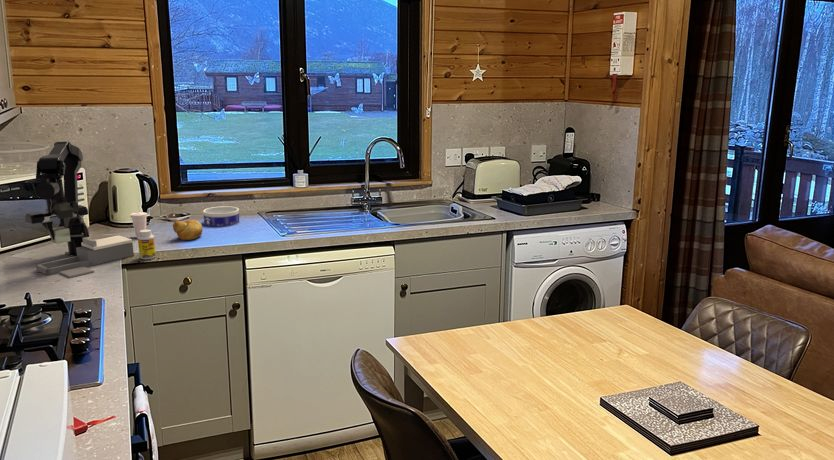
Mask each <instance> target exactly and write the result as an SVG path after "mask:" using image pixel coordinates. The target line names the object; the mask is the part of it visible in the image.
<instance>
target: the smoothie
mask: <svg viewBox="0 0 834 460" xmlns="http://www.w3.org/2000/svg"><path fill="white" fill-rule="evenodd" d="M137 207H138V212H133V213H131V214H129V215H130V218H131V221H132V225H133V229H134V233H135V234H134V235H135V237H136V238H137V239H138V237H139V236H140V231H141V230H147V216H148V213H147V212H144V211H143V212H142V211H141V206H140V202H138V203H137Z"/></svg>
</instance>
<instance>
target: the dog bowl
mask: <svg viewBox="0 0 834 460" xmlns="http://www.w3.org/2000/svg"><path fill="white" fill-rule="evenodd" d="M202 213H203V223H204V225H205V226H208V227H229V226H233V225H237V224H238V223H240V209H239V207H235V206H229V205H228V206H223V205H221V206H214V207H207V208H205V209H203V212H202Z"/></svg>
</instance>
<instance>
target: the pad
mask: <svg viewBox="0 0 834 460" xmlns="http://www.w3.org/2000/svg"><path fill="white" fill-rule="evenodd" d="M93 273H95V270H93V269H90V268H89V267H87V266H86V267H84V266H83V267H78V268H74V269H69V270H65V271H60V273H59V274H61V275H62V276H65V277H67V278H69V279H73V278H77V277H80V276H85V275H89V274H93Z"/></svg>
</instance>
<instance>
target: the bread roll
mask: <svg viewBox="0 0 834 460" xmlns="http://www.w3.org/2000/svg"><path fill="white" fill-rule="evenodd" d="M172 230H173V231H174V233H175V234H176V235H177V238H178V239H180V240H183V241H189V240H194V239H196V238H198V237H200V236H202V234H203V225H202V223H200V222H199V221H198V220H196V219H188V220H184V221H181V220H176V221H174V222H173V224H172Z"/></svg>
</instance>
